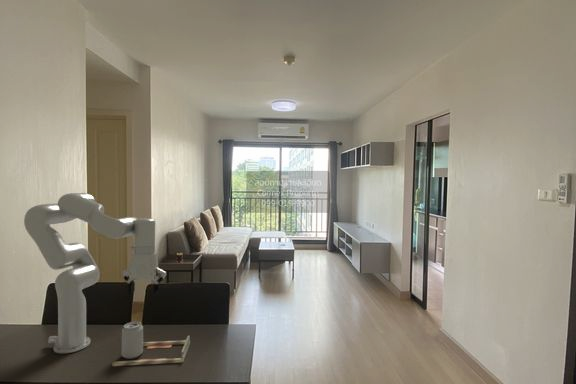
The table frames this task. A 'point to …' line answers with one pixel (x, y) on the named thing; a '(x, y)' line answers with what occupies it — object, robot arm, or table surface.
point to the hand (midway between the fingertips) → (143, 292)
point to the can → (132, 340)
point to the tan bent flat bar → (161, 360)
